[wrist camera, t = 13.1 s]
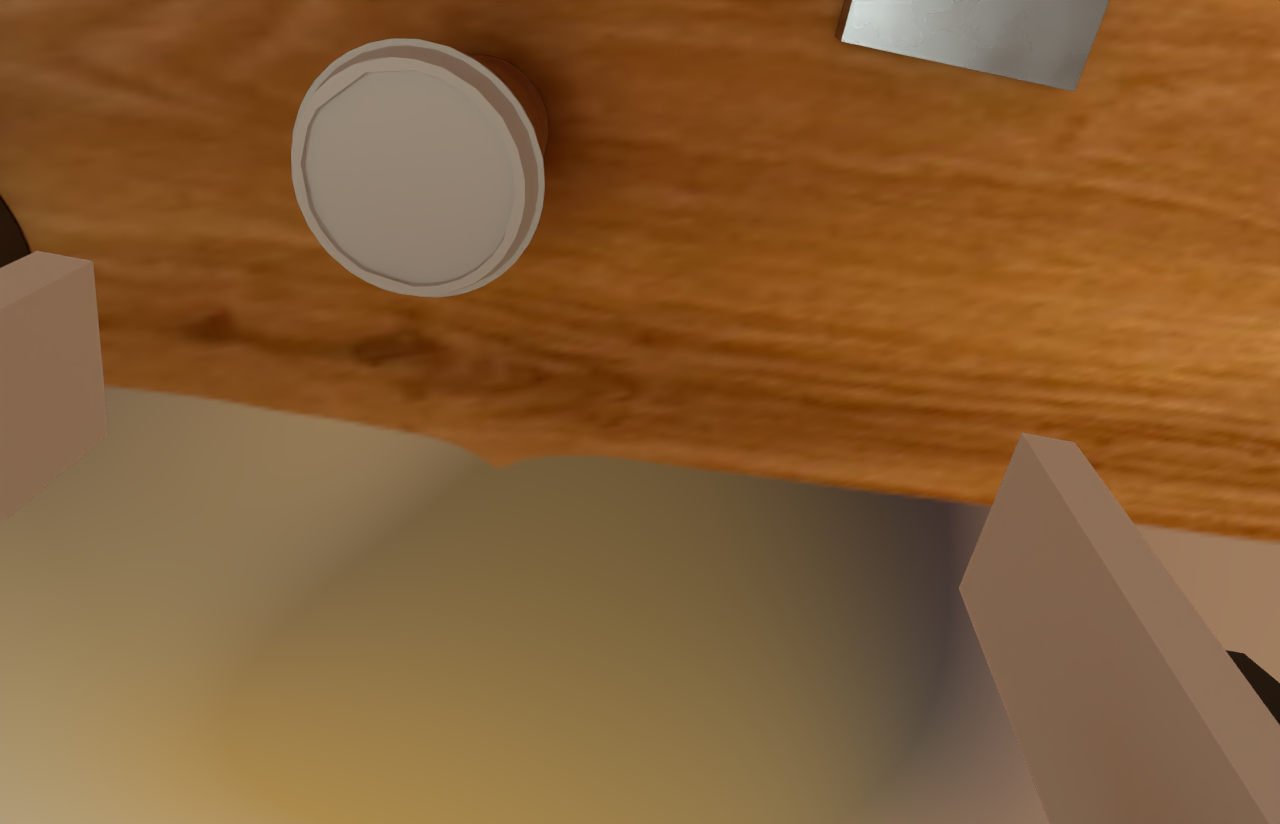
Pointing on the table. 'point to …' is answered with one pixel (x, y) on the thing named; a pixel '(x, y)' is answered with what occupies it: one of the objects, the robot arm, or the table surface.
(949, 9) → the grey flat rectangular block
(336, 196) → the disposable coffee cup
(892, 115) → the table surface
